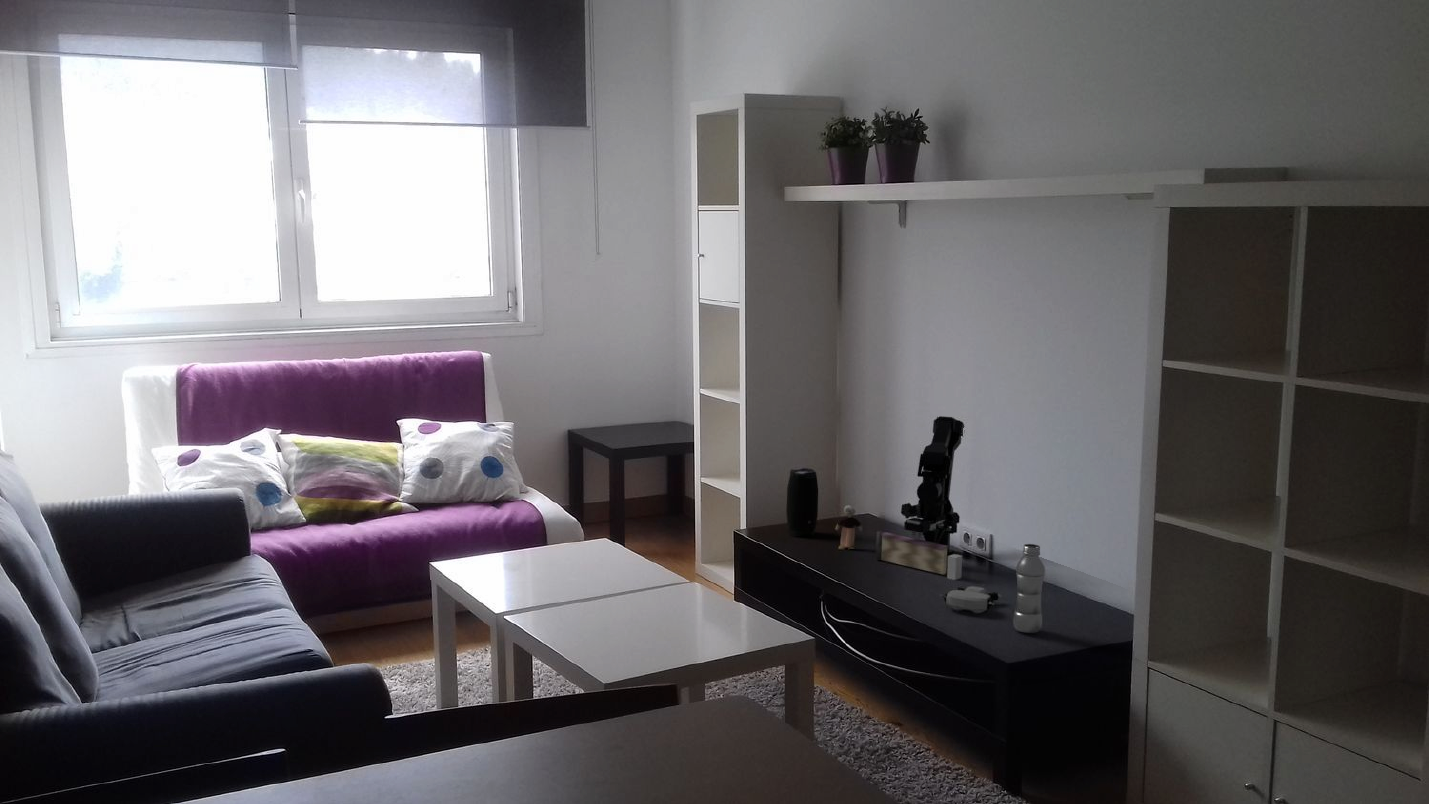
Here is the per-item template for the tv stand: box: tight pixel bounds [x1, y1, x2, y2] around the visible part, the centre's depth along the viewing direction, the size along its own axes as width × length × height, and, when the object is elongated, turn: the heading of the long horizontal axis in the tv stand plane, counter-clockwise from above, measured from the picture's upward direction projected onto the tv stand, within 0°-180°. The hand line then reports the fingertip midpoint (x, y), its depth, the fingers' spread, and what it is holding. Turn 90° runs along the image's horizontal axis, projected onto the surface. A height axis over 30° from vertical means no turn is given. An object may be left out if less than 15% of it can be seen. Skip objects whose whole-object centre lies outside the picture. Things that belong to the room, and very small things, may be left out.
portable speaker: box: [785, 467, 819, 538], centre depth 361 cm, size 9×9×20 cm
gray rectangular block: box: [946, 553, 963, 581], centre depth 317 cm, size 3×2×6 cm
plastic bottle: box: [1012, 543, 1046, 634], centre depth 273 cm, size 6×7×20 cm
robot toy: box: [939, 585, 1002, 614], centre depth 292 cm, size 12×4×15 cm
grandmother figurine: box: [835, 505, 864, 550], centre depth 346 cm, size 8×4×13 cm, turn 92°
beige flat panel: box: [875, 530, 948, 575], centre depth 327 cm, size 22×2×8 cm, turn 46°
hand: (930, 552), depth 330 cm, fingers closed
